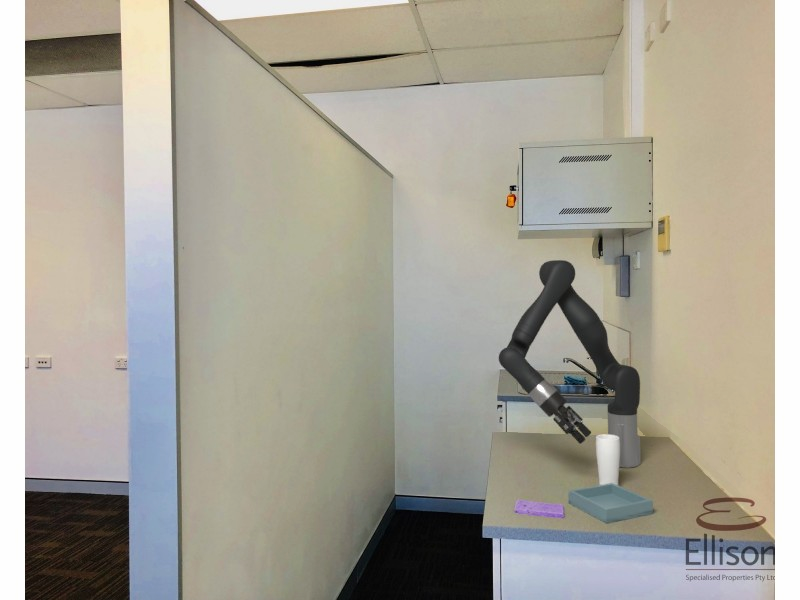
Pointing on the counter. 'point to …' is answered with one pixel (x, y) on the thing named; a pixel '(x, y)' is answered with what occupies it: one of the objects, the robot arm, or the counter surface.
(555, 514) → the sponges
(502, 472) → the counter surface
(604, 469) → the white paper cup
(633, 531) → the counter surface
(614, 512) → the tray
